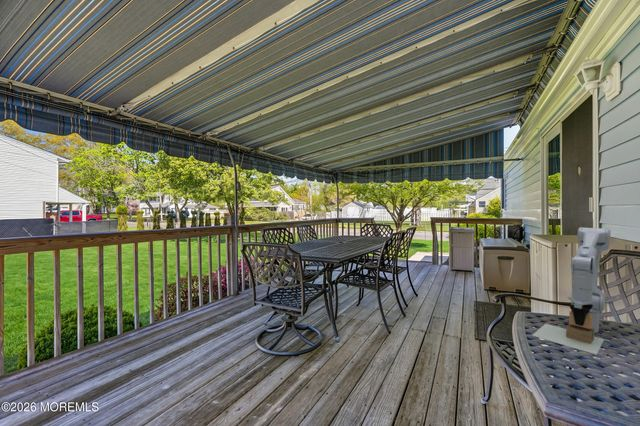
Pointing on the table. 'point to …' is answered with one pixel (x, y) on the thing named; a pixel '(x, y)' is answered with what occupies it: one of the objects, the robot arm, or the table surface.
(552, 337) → the baseplate
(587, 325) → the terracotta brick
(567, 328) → the walnut block
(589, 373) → the table surface
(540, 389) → the table surface
